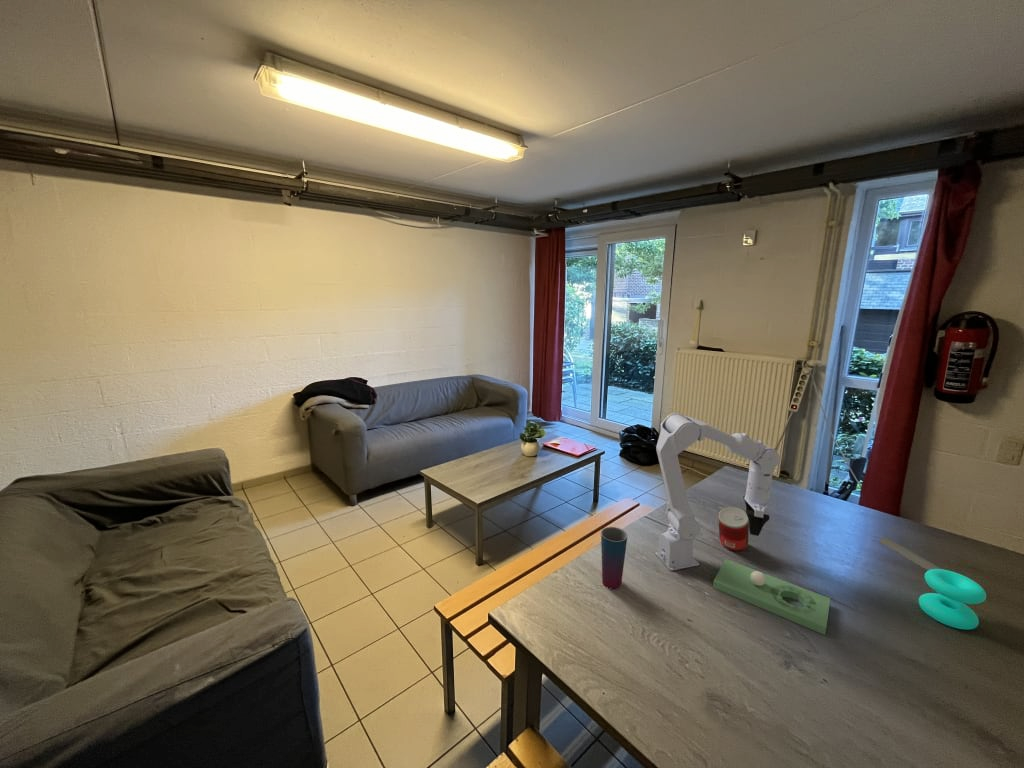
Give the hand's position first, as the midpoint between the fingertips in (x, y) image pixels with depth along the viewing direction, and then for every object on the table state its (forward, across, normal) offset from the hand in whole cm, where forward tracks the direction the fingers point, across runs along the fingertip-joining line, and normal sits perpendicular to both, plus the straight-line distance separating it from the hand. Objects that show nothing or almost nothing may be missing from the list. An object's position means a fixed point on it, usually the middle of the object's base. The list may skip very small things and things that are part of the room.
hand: (752, 527), depth 118 cm
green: (+10, -15, -3) cm, 19 cm away
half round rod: (+10, +19, -45) cm, 50 cm away
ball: (+6, -15, -1) cm, 16 cm away
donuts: (+10, -5, -41) cm, 43 cm away
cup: (+11, -28, +35) cm, 46 cm away
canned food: (+9, +5, +4) cm, 11 cm away
